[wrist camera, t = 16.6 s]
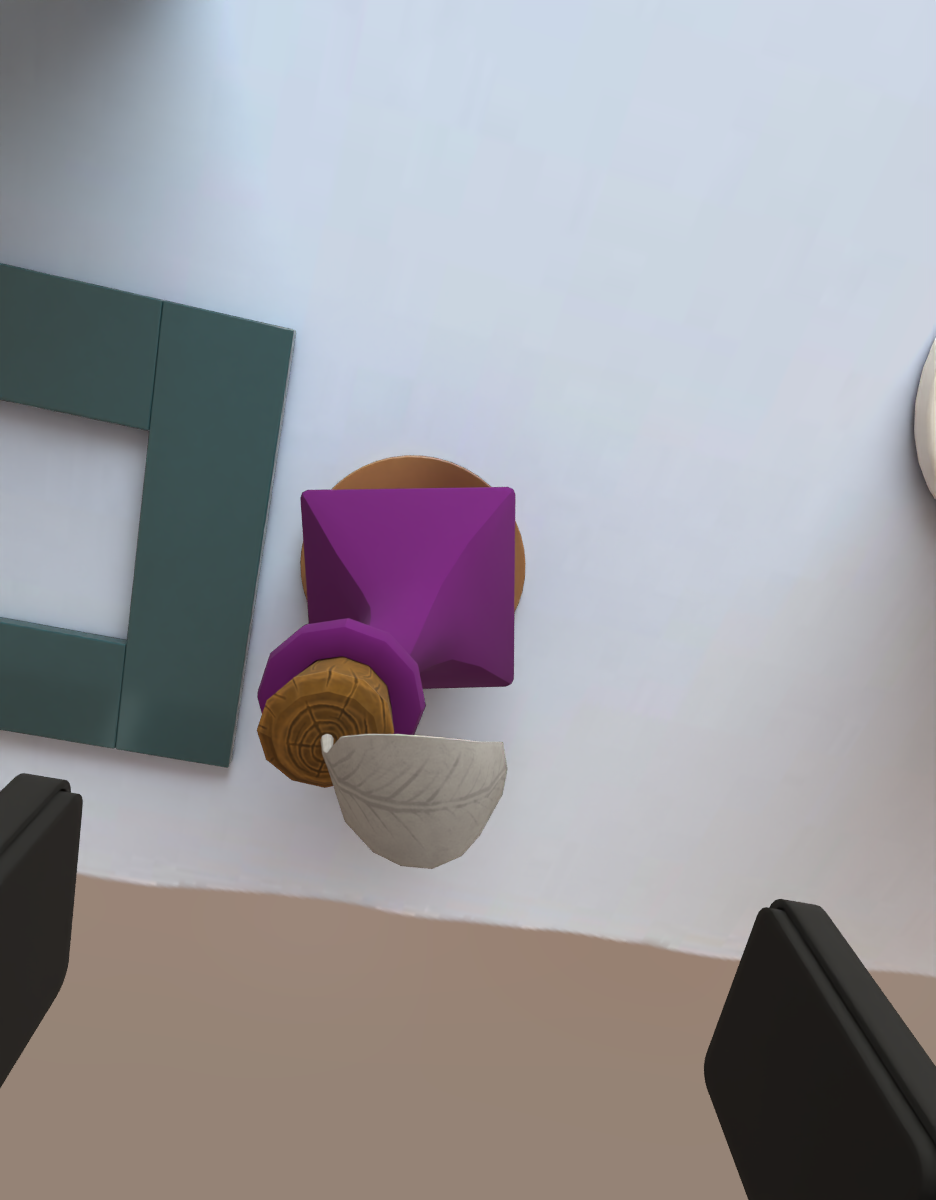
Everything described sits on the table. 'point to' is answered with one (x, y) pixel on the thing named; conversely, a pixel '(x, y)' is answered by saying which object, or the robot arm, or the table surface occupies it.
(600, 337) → the table surface
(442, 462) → the coaster
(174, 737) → the green square frame
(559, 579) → the table surface
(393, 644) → the purple corked potion bottle
